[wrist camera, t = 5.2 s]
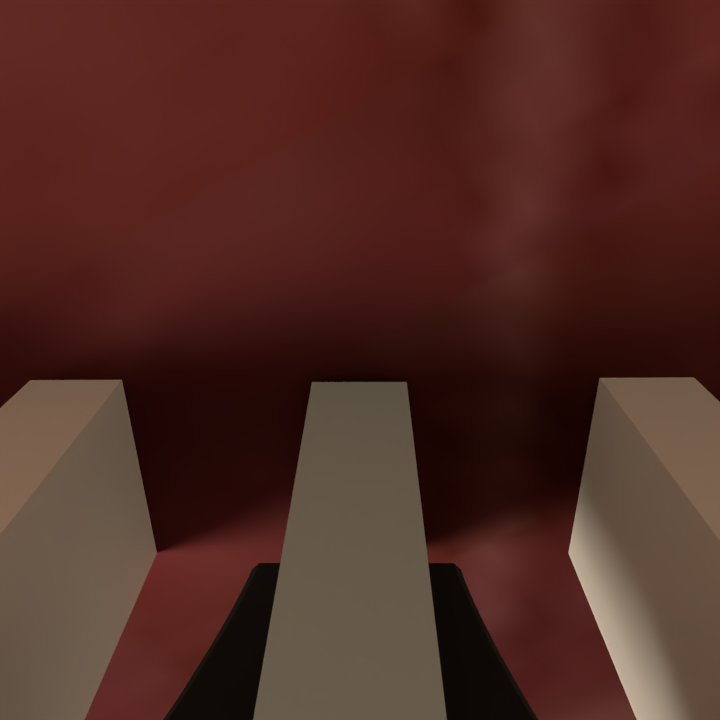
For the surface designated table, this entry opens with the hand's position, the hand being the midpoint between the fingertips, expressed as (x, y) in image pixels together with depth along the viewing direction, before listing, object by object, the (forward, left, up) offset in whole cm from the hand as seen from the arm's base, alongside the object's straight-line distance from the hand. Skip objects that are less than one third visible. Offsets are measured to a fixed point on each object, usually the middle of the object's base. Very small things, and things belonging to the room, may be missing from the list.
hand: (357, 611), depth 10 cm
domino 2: (0, 0, -3) cm, 3 cm away
